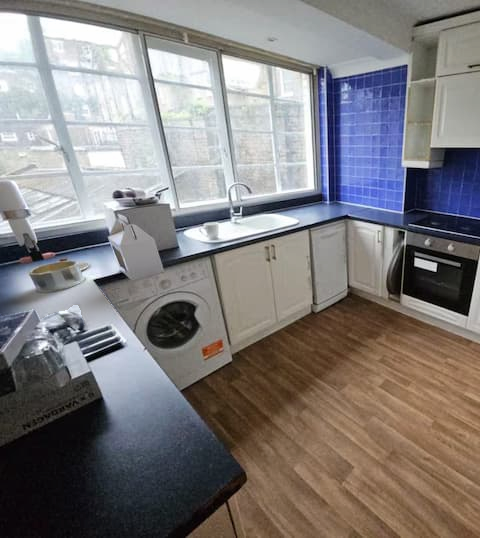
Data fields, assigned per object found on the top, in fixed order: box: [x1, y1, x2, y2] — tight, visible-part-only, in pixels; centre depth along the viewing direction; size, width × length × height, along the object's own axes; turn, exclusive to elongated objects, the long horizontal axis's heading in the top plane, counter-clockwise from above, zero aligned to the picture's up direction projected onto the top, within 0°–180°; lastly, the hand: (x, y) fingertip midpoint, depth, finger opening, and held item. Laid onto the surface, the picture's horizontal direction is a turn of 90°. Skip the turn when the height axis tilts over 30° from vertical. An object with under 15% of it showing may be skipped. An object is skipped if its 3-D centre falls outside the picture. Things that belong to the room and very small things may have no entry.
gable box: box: [107, 213, 165, 282], centre depth 140 cm, size 22×13×28 cm, turn 49°
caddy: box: [28, 260, 85, 293], centre depth 132 cm, size 16×16×8 cm
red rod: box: [18, 251, 56, 264], centre depth 117 cm, size 10×2×2 cm, turn 138°
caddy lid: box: [58, 257, 90, 271], centre depth 148 cm, size 17×17×7 cm
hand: (38, 259), depth 117 cm, fingers closed on red rod, 2 cm apart
